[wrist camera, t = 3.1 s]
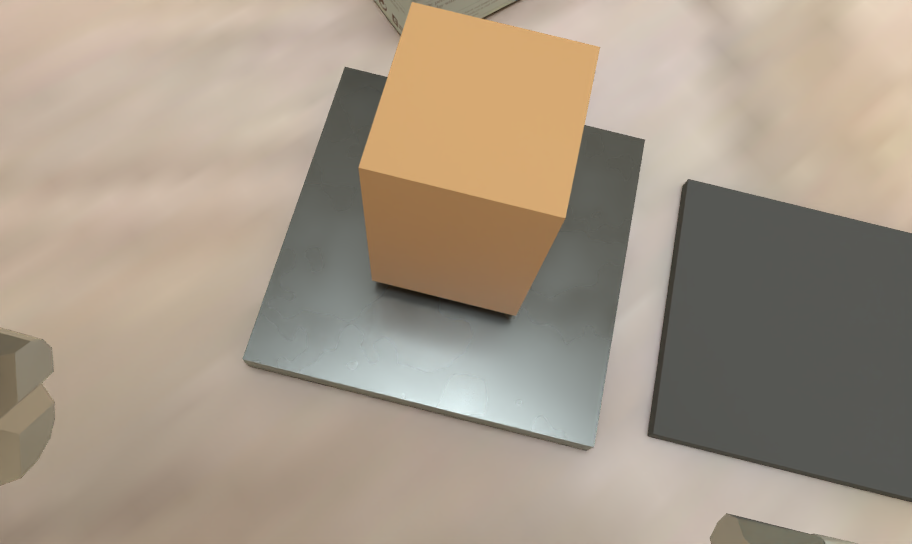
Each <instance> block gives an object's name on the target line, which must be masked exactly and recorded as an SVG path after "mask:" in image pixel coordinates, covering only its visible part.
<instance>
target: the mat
mask: <svg viewBox="0 0 912 544" xmlns="http://www.w3.org/2000/svg"><path fill="white" fill-rule="evenodd" d="M648 436H650V437H654V438H658V439H662V440H666V441H670V442H674V443H678V444H682V445H686V446H690V447H694V448H698V449H702V450H706V451H710V452H714V453H718V454H722V455H726V456H730V457H734V458H738V459H742V460H746V461H750V462H754V463H758V464H762V465H766V466H770V467H774V468H778V469H782V470H786V471H790V472H794V473H798V474H802V475H806V476H810V477H814V478H818V479H822V480H826V481H830V482H834V483H838V484H842V485H846V486H850V487H854V488H858V489H862V490H866V491H870V492H874V493H878V494H882V495H886V496H890V497H894V498H898V499H902V500H906V501H910V502H912V233H908V232H904V231H900V230H895V229H891V228H887V227H883V226H879V225H875V224H871V223H867V222H863V221H858V220H854V219H850V218H846V217H842V216H838V215H834V214H830V213H826V212H822V211H817V210H813V209H809V208H805V207H801V206H797V205H793V204H789V203H785V202H780V201H776V200H772V199H768V198H764V197H760V196H756V195H752V194H748V193H744V192H739V191H735V190H731V189H727V188H723V187H719V186H715V185H711V184H707V183H702V182H698V181H694V180H690V179H688V180H687V181H686V183H685V184H684V185H683V188H682V195H681V202H680V209H679V217H678V224H677V231H676V238H675V245H674V252H673V259H672V266H671V274H670V281H669V288H668V295H667V302H666V309H665V316H664V324H663V331H662V338H661V345H660V352H659V359H658V366H657V373H656V381H655V388H654V395H653V402H652V409H651V416H650V423H649V430H648Z"/></svg>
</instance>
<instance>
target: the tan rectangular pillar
mask: <svg viewBox="0 0 912 544" xmlns="http://www.w3.org/2000/svg"><path fill="white" fill-rule="evenodd" d="M599 50H600V47H597V46H593V45H589V44H585V43H581V42H577V41H572V40H568V39H564V38H560V37H556V36H552V35H547V34H543V33H539V32H535V31H531V30H527V29H523V28H518V27H514V26H510V25H506V24H502V23H498V22H493V21H489V20H485V19H481V18H477V17H473V16H469V15H464V14H460V13H456V12H452V11H448V10H444V9H440V8H435V7H431V6H427V5H423V4H419V3H415V2H412V3H411V6H410V9H409V13H408V16H407V19H406V22H405V25H404V28H403V31H402V34H401V37H400V40H399V44H398V47H397V50H396V53H395V56H394V59H393V62H392V65H391V68H390V71H389V74H388V78H387V81H386V84H385V87H384V90H383V93H382V96H381V99H380V102H379V105H378V108H377V112H376V115H375V118H374V121H373V124H372V127H371V130H370V133H369V136H368V139H367V143H366V146H365V149H364V152H363V155H362V158H361V161H360V164H359V167H358V168H359V177H360V185H361V193H362V201H363V210H364V218H365V226H366V235H367V243H368V251H369V259H370V268H371V276H372V281H376V282H380V283H384V284H388V285H393V286H397V287H401V288H405V289H409V290H413V291H417V292H421V293H425V294H429V295H433V296H437V297H441V298H445V299H449V300H453V301H457V302H461V303H465V304H469V305H473V306H477V307H481V308H485V309H489V310H493V311H497V312H501V313H506V314H510V315H514V316H516V315H517V313H518V311H519V309H520V307H521V305H522V303H523V301H524V299H525V297H526V295H527V293H528V291H529V289H530V287H531V285H532V283H533V281H534V279H535V277H536V275H537V273H538V271H539V269H540V267H541V265H542V263H543V261H544V260H545V258H546V256H547V254H548V252H549V250H550V248H551V246H552V244H553V242H554V240H555V238H556V236H557V234H558V232H559V230H560V228H561V226H562V224H563V222H564V220H565V218H566V213H567V208H568V203H569V198H570V193H571V188H572V184H573V179H574V174H575V169H576V164H577V159H578V154H579V149H580V144H581V139H582V134H583V129H584V124H585V119H586V114H587V109H588V104H589V99H590V94H591V89H592V84H593V79H594V74H595V69H596V64H597V60H598V55H599Z"/></svg>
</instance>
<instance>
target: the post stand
mask: <svg viewBox="0 0 912 544" xmlns="http://www.w3.org/2000/svg"><path fill="white" fill-rule="evenodd" d="M387 78H388V77H384V76H380V75H376V74H372V73H368V72H364V71H360V70H356V69H352V68H347V67H345V68H344V71H343V74H342V77H341V80H340V82H339V85H338V88H337V91H336V94H335V97H334V100H333V102H332V105H331V108H330V111H329V114H328V117H327V120H326V122H325V125H324V128H323V131H322V134H321V137H320V140H319V142H318V145H317V148H316V151H315V154H314V157H313V160H312V162H311V165H310V168H309V171H308V174H307V177H306V179H305V182H304V185H303V188H302V191H301V194H300V197H299V199H298V202H297V205H296V208H295V211H294V214H293V217H292V219H291V222H290V225H289V228H288V231H287V234H286V237H285V239H284V242H283V245H282V248H281V251H280V254H279V257H278V259H277V262H276V265H275V268H274V271H273V274H272V276H271V279H270V282H269V285H268V288H267V291H266V294H265V296H264V299H263V302H262V305H261V308H260V311H259V314H258V316H257V319H256V322H255V325H254V328H253V331H252V334H251V336H250V339H249V342H248V345H247V348H246V351H245V354H244V356H243V360H244V361H245V362H246V364H247V365H248V366H251V367H255V368H259V369H263V370H267V371H271V372H275V373H279V374H283V375H287V376H291V377H295V378H299V379H303V380H307V381H311V382H315V383H319V384H323V385H327V386H331V387H335V388H339V389H343V390H347V391H351V392H355V393H359V394H363V395H367V396H371V397H375V398H379V399H383V400H387V401H391V402H395V403H399V404H403V405H407V406H411V407H415V408H419V409H423V410H427V411H431V412H435V413H439V414H443V415H447V416H451V417H455V418H459V419H463V420H467V421H471V422H475V423H479V424H483V425H487V426H491V427H495V428H499V429H503V430H507V431H511V432H515V433H519V434H523V435H527V436H531V437H535V438H539V439H543V440H547V441H550V442H554V443H558V444H562V445H566V446H570V447H574V448H578V449H582V450H586V451H587V450H589V449H591V448H593V447H594V444H595V438H596V432H597V426H598V420H599V414H600V408H601V402H602V396H603V390H604V383H605V377H606V371H607V365H608V359H609V353H610V347H611V341H612V335H613V329H614V323H615V317H616V311H617V305H618V299H619V293H620V287H621V281H622V275H623V269H624V263H625V257H626V251H627V245H628V238H629V232H630V226H631V220H632V214H633V208H634V202H635V196H636V190H637V184H638V178H639V172H640V166H641V160H642V154H643V148H644V142H645V140H644V139H640V138H636V137H632V136H627V135H623V134H619V133H615V132H611V131H607V130H603V129H599V128H594V127H590V126H586V125H584V129H583V134H582V139H581V144H580V149H579V154H578V159H577V164H576V169H575V174H574V179H573V184H572V188H571V193H570V198H569V203H568V208H567V213H566V218H565V220H564V222H563V224H562V226H561V228H560V230H559V232H558V234H557V236H556V238H555V240H554V242H553V244H552V246H551V248H550V250H549V252H548V254H547V256H546V258H545V260H544V261H543V263H542V265H541V267H540V269H539V271H538V273H537V275H536V277H535V279H534V281H533V283H532V285H531V287H530V289H529V291H528V293H527V295H526V297H525V299H524V301H523V303H522V305H521V307H520V309H519V311H518V313H517V315H516V316H514V315H510V314H506V313H501V312H497V311H493V310H489V309H485V308H481V307H477V306H473V305H469V304H465V303H461V302H457V301H453V300H449V299H445V298H441V297H437V296H433V295H429V294H425V293H421V292H417V291H413V290H409V289H405V288H401V287H397V286H393V285H388V284H384V283H380V282H376V281H372V276H371V268H370V259H369V251H368V243H367V235H366V226H365V218H364V210H363V201H362V193H361V185H360V177H359V168H358V167H359V164H360V161H361V158H362V155H363V152H364V149H365V146H366V143H367V139H368V136H369V133H370V130H371V127H372V124H373V121H374V118H375V115H376V112H377V108H378V105H379V102H380V99H381V96H382V93H383V90H384V87H385V84H386V81H387Z"/></svg>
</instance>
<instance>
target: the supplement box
mask: <svg viewBox="0 0 912 544" xmlns="http://www.w3.org/2000/svg"><path fill="white" fill-rule="evenodd" d="M374 1H375V2H376V3H377V5H378V6H379V7H380V9H381V10H382V11H383V13H384V14H385V15H386V17H387V18H388V19H389V21H390V22H391V23H392V25H393V26H394V27H395V29H396V30H397V31H398V32H399V34H400V35H401V34H402V31H403V28H404V25H405V22H406V19H407V16H408V13H409V9H410V6H411V3H412V2H415V3H419V4H423V5H427V6H431V7H435V8H440V9H444V10H448V11H452V12H456V13H460V14H464V15H469V16H473V17H477V18H483V17H485V16H487V15H489V14H491V13H493V12H495V11H497V10H499V9H501V8H503V7H505V6H507V5H509V4H511V3H512V2H514V1H516V0H374Z"/></svg>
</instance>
